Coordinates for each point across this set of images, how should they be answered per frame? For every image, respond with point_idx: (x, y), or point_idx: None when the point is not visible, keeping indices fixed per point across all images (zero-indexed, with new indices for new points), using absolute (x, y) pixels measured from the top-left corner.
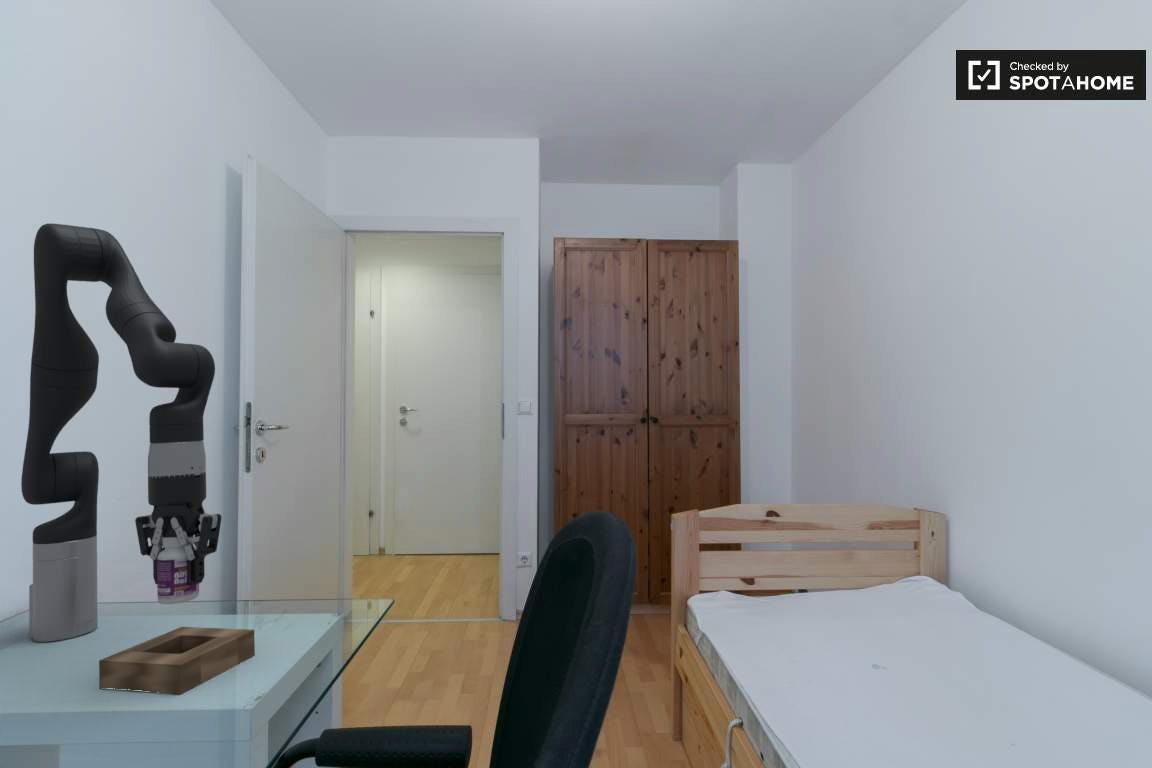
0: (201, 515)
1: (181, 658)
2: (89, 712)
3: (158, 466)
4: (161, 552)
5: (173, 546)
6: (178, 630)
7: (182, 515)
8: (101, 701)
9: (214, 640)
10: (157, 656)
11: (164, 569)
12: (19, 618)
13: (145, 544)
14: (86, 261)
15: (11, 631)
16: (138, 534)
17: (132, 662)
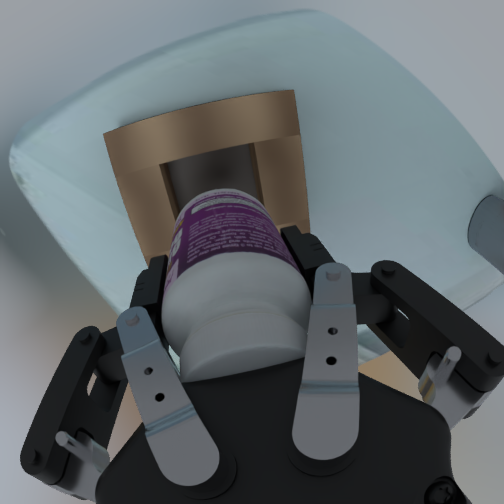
0: (84, 492)
1: (132, 152)
2: (197, 36)
3: None
4: (268, 285)
5: (203, 326)
6: None
7: (172, 500)
8: (222, 63)
9: (170, 232)
10: (193, 139)
11: (211, 235)
12: None
13: (396, 292)
14: None
15: None
16: (455, 310)
17: (211, 102)
